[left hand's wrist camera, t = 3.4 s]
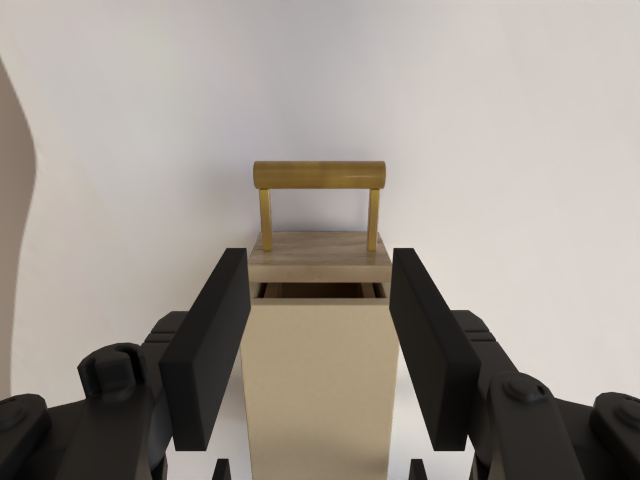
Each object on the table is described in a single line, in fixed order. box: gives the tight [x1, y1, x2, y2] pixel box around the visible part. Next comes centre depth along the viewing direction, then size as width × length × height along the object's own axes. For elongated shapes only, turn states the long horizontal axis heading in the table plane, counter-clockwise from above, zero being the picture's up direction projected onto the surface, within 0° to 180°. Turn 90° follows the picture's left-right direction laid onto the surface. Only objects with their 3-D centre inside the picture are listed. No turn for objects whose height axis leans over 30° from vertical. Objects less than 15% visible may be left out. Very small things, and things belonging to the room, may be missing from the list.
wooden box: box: [240, 283, 400, 480], centre depth 29 cm, size 18×10×8 cm, turn 0°
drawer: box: [248, 161, 392, 298], centre depth 27 cm, size 23×9×6 cm, turn 0°
